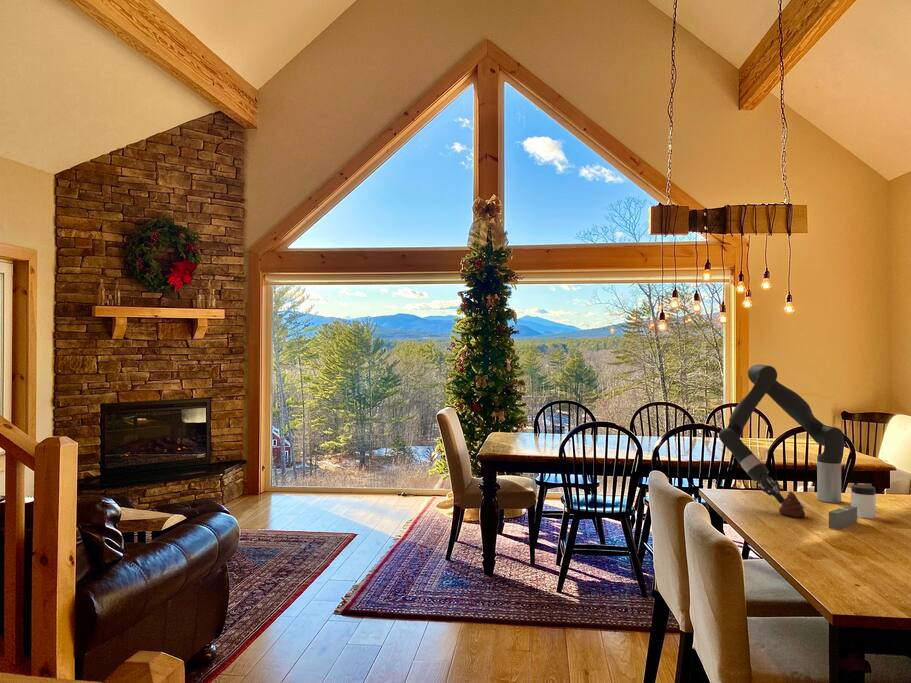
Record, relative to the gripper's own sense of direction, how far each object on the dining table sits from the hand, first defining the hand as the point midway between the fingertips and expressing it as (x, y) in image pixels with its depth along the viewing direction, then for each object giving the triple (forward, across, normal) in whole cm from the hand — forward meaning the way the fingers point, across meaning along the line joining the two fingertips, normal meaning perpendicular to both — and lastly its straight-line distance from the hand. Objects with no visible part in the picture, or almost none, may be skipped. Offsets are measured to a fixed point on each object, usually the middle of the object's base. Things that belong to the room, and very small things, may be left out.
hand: (783, 502), depth 256 cm
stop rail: (+19, 0, -13) cm, 23 cm away
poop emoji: (+6, 0, 0) cm, 6 cm away
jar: (+18, +22, -12) cm, 31 cm away
